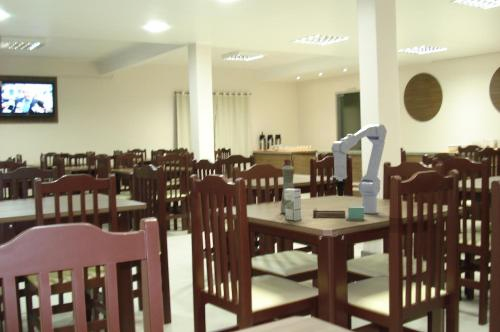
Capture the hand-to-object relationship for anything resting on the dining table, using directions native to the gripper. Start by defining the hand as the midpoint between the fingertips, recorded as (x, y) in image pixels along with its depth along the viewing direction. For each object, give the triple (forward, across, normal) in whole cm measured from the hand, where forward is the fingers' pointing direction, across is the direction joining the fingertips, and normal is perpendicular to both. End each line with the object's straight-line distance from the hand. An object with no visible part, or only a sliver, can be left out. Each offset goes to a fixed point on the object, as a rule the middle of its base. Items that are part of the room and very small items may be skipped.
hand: (340, 194), depth 257 cm
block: (+10, +8, +7) cm, 14 cm away
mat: (+10, +8, +6) cm, 14 cm away
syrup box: (+11, +10, -22) cm, 26 cm away
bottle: (+11, -12, -26) cm, 31 cm away
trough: (+10, -1, -6) cm, 12 cm away
